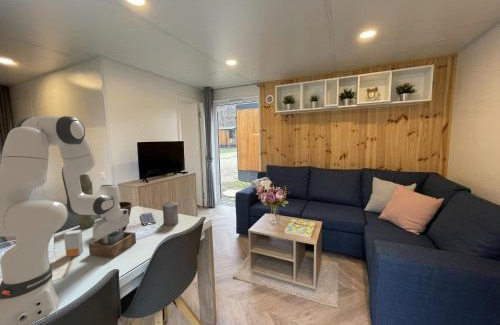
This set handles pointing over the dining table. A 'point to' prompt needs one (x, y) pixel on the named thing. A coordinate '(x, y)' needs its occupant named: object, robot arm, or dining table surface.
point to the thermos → (86, 188)
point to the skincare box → (73, 243)
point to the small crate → (114, 238)
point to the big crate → (112, 251)
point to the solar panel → (147, 218)
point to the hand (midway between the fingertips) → (113, 239)
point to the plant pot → (125, 206)
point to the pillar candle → (170, 213)
